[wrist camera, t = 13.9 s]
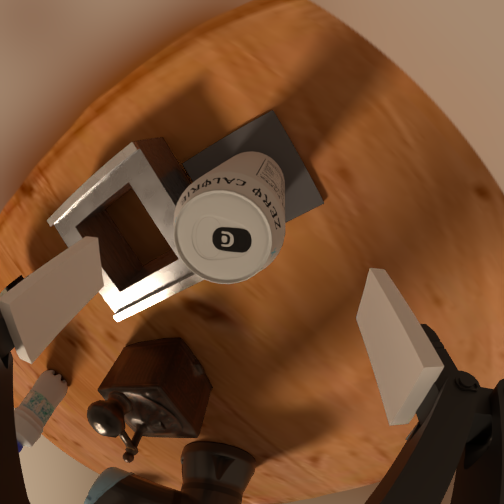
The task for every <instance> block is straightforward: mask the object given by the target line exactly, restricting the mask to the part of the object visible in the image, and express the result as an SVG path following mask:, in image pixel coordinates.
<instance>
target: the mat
mask: <svg viewBox="0 0 504 504" xmlns="http://www.w3.org/2000/svg"><path fill="white" fill-rule="evenodd" d="M252 151H254V152H260V153H263V154H265V155H267V156H269V157H270V158H272V159H273V160H274V161H275V162H276V163H277V164H278V165H279V167H280V168H281V170H282V173H283V176H284V180H285V223H286V222H288V221H290V220H292V219H294V218H296V217H298V216H300V215H302V214H304V213H306V212H308V211H310V210H312V209H314V208H316V207H318V206H320V205H322V204H324V202H323V200H322V198H321V196H320V194H319V192H318V190H317V188H316V186H315V184H314V182H313V180H312V178H311V177H310V175H309V173H308V171H307V169H306V167H305V165H304V164H303V162H302V160H301V158H300V156H299V154H298V153H297V151H296V149H295V147H294V145H293V144H292V142H291V140H290V138H289V137H288V135H287V133H286V131H285V130H284V128H283V126H282V125H281V123H280V121H279V120H278V118H277V116H276V114H275V113H274V111H273V110H272V111H270V112H268V113H267V114H265V115H263V116H261V117H259V118H257V119H256V120H254V121H252V122H250V123H248V124H247V125H245V126H243V127H241V128H240V129H238V130H236V131H234V132H233V133H231V134H229V135H228V136H226V137H224V138H223V139H221V140H219V141H218V142H216V143H214V144H213V145H211V146H209V147H208V148H206V149H205V150H203V151H201V152H200V153H198V154H197V155H195V156H194V157H192V158H190V159H189V160H187V161H186V162H184V163H183V166H184V168H185V169H186V171H187V172H188V174H189V176H190V177H191V179H192V180H193V182H194V181H196V180H197V179H198V178H200V177H201V176H203V175H204V174H206V173H208V172H209V171H211V170H212V169H214V168H216V167H217V166H219V165H220V164H222V163H224V162H225V161H227V160H229V159H230V158H232V157H233V156H235V155H237V154H240V153H243V152H252Z"/></svg>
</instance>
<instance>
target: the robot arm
mask: <svg viewBox="0 0 504 504" xmlns="http://www.w3.org/2000/svg"><path fill="white" fill-rule="evenodd" d="M103 287H104V282H103V275H102V268H101V260H100V252H99V243H98V238H97V237H88V236H86V237H84V238H83V239H81V240H80V241H78V242H77V243H75V244H74V245H72V246H71V247H69V248H68V249H66V250H65V251H63V252H62V253H60V254H59V255H57V256H56V257H54V258H53V259H51V260H50V261H48V262H47V263H46V264H44V265H43V266H41V267H40V268H39V269H37V270H36V271H34V272H33V273H32V274H30V275H29V276H28V277H26V278H25V279H24V280H22V281H21V282H19V283H18V284H17V285H16V286H14V287H13V288H12V289H10V290H9V291H8V292H6V293H5V294H4V295H3V296H1V297H0V504H30V502H29V500H28V497H27V492H26V488H25V484H24V479H23V474H22V469H21V464H20V458H19V452H18V445H17V437H16V428H15V417H14V402H13V357H12V354H11V352H10V351H11V350H12V349H13V348H14V347H15V349H16V351H17V354H18V356H19V358H20V359H22V360H24V361H26V362H28V363H31V364H32V363H33V362H34V361H35V360H36V358H37V357H38V356H39V355H40V354H41V353H42V352H43V350H44V349H45V348H46V347H47V346H48V345H49V344H50V343H51V341H52V340H53V339H54V338H55V337H56V336H57V335H58V334H59V333H60V331H61V330H62V329H63V328H64V327H65V326H66V325H67V324H68V323H69V322H70V321H71V320H72V319H73V318H74V316H75V315H76V314H77V313H78V312H79V311H80V310H81V309H82V308H83V307H84V306H85V305H86V304H87V303H88V302H89V301H90V300H91V299H92V298H93V297H94V296H95V295H96V294H97V293H98V292H99V291H100V290H101V289H102V288H103ZM356 320H357V323H358V326H359V329H360V331H361V334H362V337H363V340H364V343H365V346H366V349H367V352H368V355H369V358H370V362H371V365H372V368H373V371H374V374H375V378H376V381H377V384H378V387H379V391H380V394H381V398H382V401H383V404H384V408H385V412H386V415H387V419H388V422H389V425H400V424H408V423H409V422H410V421H411V419H412V418H413V416H414V415H415V413H416V414H417V417H418V420H419V422H418V423H417V425H416V426H415V427H414V429H413V430H412V431H411V433H410V434H409V435H408V437H407V438H406V440H407V442H406V443H405V445H404V447H403V448H402V450H401V452H400V453H399V455H398V456H397V458H396V460H395V461H394V463H393V464H392V466H391V467H390V469H389V470H388V472H387V473H386V475H385V476H384V478H383V479H382V481H381V482H380V483H379V485H378V486H377V488H376V489H375V490H374V492H373V493H372V494H371V496H370V497H369V498H368V500H367V501H366V502H365V504H441V502H442V499H443V498H444V495H445V493H446V491H447V489H448V487H449V485H450V482H451V480H452V478H453V475H454V473H455V470H456V476H455V482H454V488H453V494H452V498H451V503H450V504H504V379H502V380H500V381H499V383H498V384H497V385H496V387H495V388H494V389H489V388H483V387H480V385H479V383H478V381H477V380H476V379H475V377H474V376H472V375H471V374H469V373H467V372H464V371H458V369H457V368H456V366H455V364H454V363H453V361H452V359H451V357H450V356H449V354H448V352H447V351H446V349H444V346H443V344H442V343H441V342H440V339H439V338H438V336H437V334H436V333H435V332H434V331H433V330H432V329H431V328H430V327H429V326H427V325H426V324H420V323H419V322H418V320H417V318H416V317H415V315H414V314H413V312H412V310H411V309H410V307H409V306H408V304H407V303H406V301H405V299H404V298H403V296H402V295H401V293H400V292H399V290H398V289H397V287H396V286H395V284H394V283H393V281H392V280H391V278H390V277H389V275H388V274H387V272H386V271H385V269H377V268H370V269H369V272H368V276H367V280H366V284H365V288H364V291H363V295H362V298H361V302H360V305H359V309H358V312H357V316H356ZM181 463H182V477H183V484H182V488H181V491H178V490H174V489H172V488H169V487H166V486H163V485H160V484H157V483H155V482H152V481H149V480H147V479H144V478H142V477H140V476H137V475H135V474H134V473H129V472H127V471H124V470H121V469H119V468H116V467H110V468H107V469H106V470H104V471H103V472H102V473H101V474H100V476H99V477H98V478H97V479H96V481H95V482H94V484H93V485H92V487H91V489H90V491H89V493H88V496H87V497H86V499H85V502H84V504H241V502H242V495H243V492H244V491H245V489H246V487H247V485H248V483H249V481H250V479H251V477H252V476H253V474H254V472H255V464H256V462H255V459H254V458H253V457H252V456H251V455H250V454H248V453H247V452H245V451H243V450H241V449H238V448H236V447H232V446H229V445H225V444H220V443H212V442H196V443H191V444H188V445H186V446H185V447H184V448H183V451H182V455H181ZM456 468H457V469H456Z"/></svg>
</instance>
